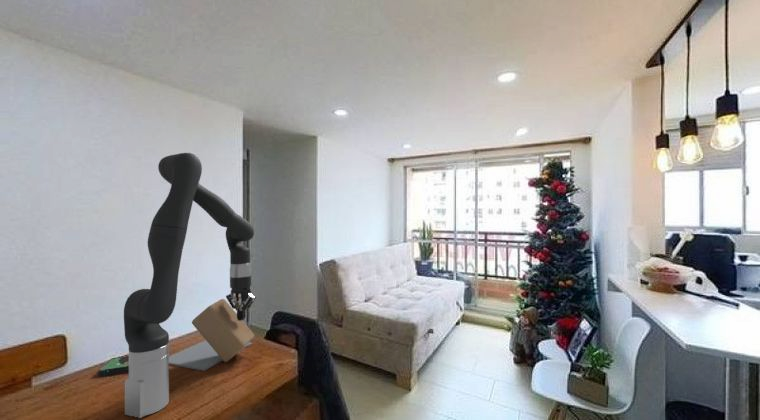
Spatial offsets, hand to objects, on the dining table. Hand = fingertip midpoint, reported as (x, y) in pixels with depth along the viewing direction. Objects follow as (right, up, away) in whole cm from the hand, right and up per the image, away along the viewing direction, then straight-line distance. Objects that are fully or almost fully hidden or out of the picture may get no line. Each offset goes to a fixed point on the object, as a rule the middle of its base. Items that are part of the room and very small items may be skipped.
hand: (241, 319), depth 120 cm
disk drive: (-38, -16, -6) cm, 42 cm away
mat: (-15, -15, +5) cm, 22 cm away
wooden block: (0, -11, -1) cm, 11 cm away
